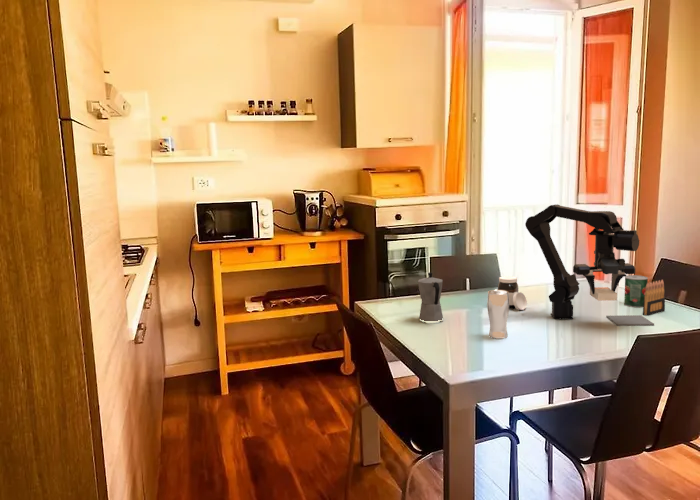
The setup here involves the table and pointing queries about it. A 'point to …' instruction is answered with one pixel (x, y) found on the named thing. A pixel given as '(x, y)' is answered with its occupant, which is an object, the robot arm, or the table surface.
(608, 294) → the card deck
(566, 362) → the table surface
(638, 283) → the canned tomato
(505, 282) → the spread jar
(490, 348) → the table surface
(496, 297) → the beer glass
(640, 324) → the card mat
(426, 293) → the coffeepot
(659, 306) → the ammunition clip
